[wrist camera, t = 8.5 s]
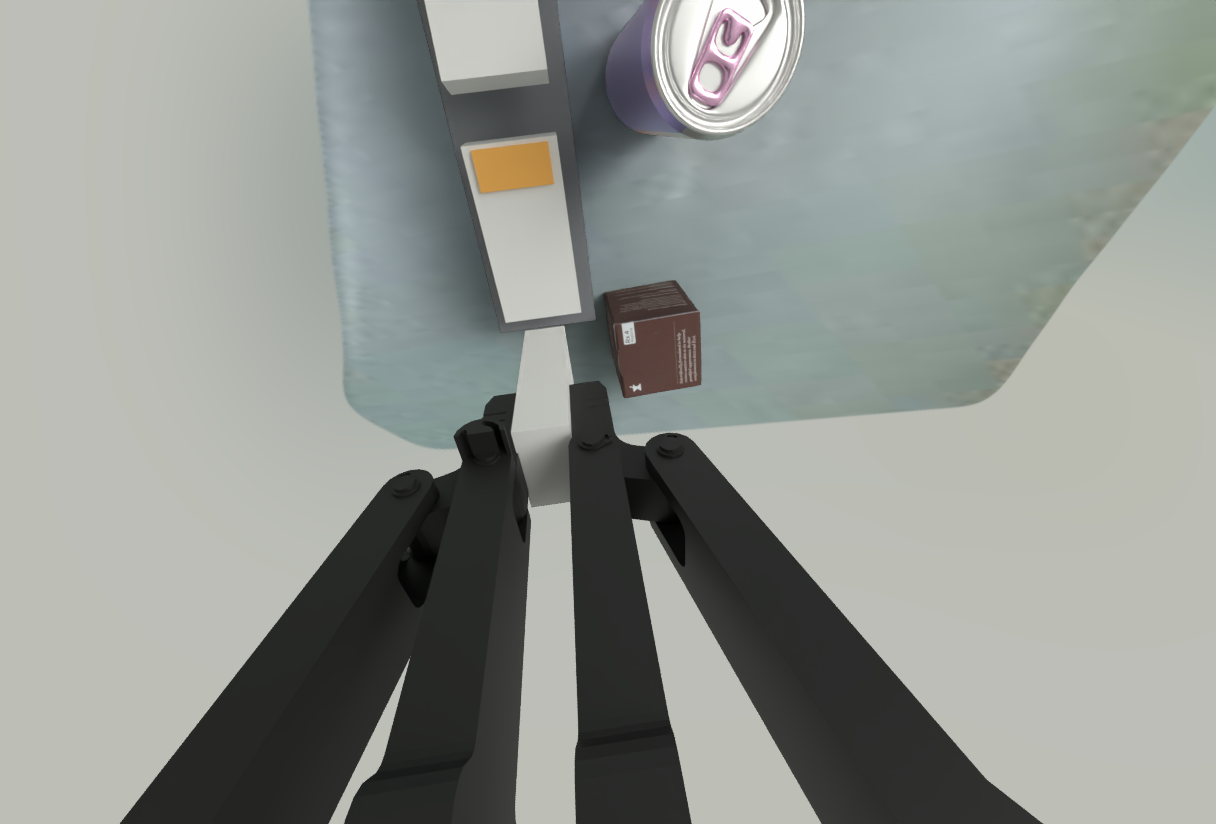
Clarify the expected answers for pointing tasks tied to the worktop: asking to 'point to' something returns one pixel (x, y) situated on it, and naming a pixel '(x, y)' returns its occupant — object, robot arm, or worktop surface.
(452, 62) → the block
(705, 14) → the beverage can
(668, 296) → the box
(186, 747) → the robot arm
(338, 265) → the worktop surface
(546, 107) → the switch panel
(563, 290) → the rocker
